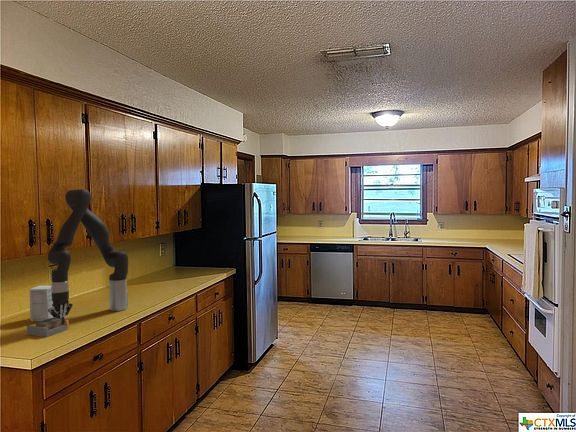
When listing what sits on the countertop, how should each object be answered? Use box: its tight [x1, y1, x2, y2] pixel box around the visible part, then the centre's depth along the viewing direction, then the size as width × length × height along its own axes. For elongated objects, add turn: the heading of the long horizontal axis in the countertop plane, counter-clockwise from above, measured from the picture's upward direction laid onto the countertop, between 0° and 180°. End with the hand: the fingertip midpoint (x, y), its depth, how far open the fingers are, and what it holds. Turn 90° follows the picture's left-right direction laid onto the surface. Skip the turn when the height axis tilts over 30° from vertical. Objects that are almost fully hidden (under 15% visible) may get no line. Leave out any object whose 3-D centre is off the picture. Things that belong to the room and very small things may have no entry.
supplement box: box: [28, 285, 54, 322], centre depth 223 cm, size 10×9×17 cm
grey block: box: [35, 318, 62, 330], centre depth 201 cm, size 9×6×6 cm, turn 161°
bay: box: [26, 318, 70, 338], centre depth 202 cm, size 12×12×4 cm
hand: (61, 325), depth 209 cm, fingers closed
